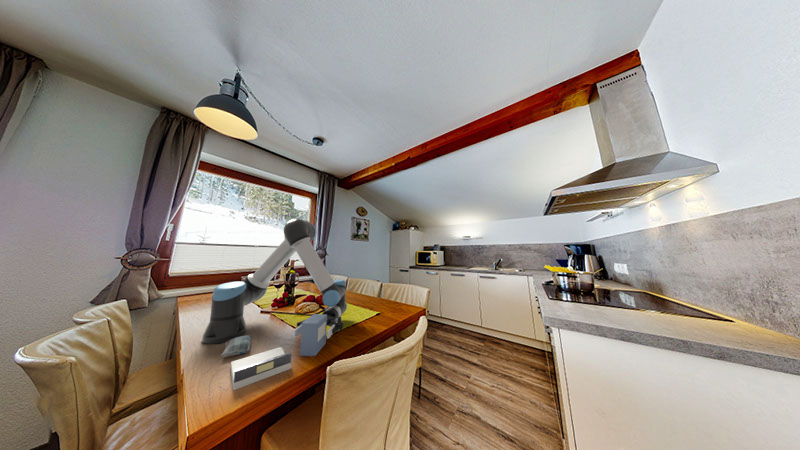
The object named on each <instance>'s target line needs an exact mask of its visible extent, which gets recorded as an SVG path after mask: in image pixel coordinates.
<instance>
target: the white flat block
mask: <svg viewBox="0 0 800 450" xmlns="http://www.w3.org/2000/svg"><path fill="white" fill-rule="evenodd" d="M291 364H292V352H291V351H289V352H286V353H285V351H284V349H283V347H281V346H279V347H276V348H272V349H269V350H266V351H262V352H260V353H256V354H252V355H250V356H246V357H244V358H239V359H237V360H232V361H231V362H230V372H231V374H230V376H231V382H232V383H231V384H232V391H235V390H238V389H241V388H243V387H246V386H248V385H252V384H255V383H256V382H260V381H262V380H265V379H267V378H271V377H273V376H276V375H277V374H280V373H283V372H285V371H288V370H291V367H292V365H291Z"/></svg>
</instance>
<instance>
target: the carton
mask: <svg viewBox="0 0 800 450" xmlns="http://www.w3.org/2000/svg"><path fill="white" fill-rule="evenodd" d="M306 319H307V320H306ZM306 319H304V320H305V321H304V322H302V326H301V333H300V345H299V346H300V347H299V356H300V357H303V356H304V357H316V356H317V354H319V352H320V351H321V350H322V349H323V347H324V346H325V345H326V343H327V342H326V341H327V327H328V326H327V314H320V313H314V314H311V315H310V316H309V317H308V318H306Z"/></svg>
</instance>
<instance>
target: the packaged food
mask: <svg viewBox="0 0 800 450" xmlns="http://www.w3.org/2000/svg"><path fill="white" fill-rule="evenodd" d="M252 336H253V335H242V336H240V337H236V338H234V339H231V340H229V341H227V342H224V345H225V349H224V350H223V352H222V353H221V354H219V357H220V358H222V357H224V358H226V357H232V356H237V355H243V354H246V353H248V352H249V351H250V350H251V341H252V338H253V337H252Z"/></svg>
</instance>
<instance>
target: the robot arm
mask: <svg viewBox="0 0 800 450" xmlns="http://www.w3.org/2000/svg"><path fill="white" fill-rule="evenodd" d="M283 234H284V236H283V238H284V240H283V241H282V242H281V243H280V244H279V245H278V247H276V249H275V250H274V251H272V253H271V254H270V255H269V256H268V257H267V258H266V260H264V261H263V263H261V265H260V266H259V267H258V268H257V269H256V271H255V272H254V273H250V274H248V275H247V276H246V277H245V278H244V280H242V281H238V280H237V281H229V282H225V283H221V284H219V285H217V286H215V287H214V289H213V291H212V295H211V307H210V318H209V322H208V324H207V327H206V328H205V331H204V332H203V334H202V340H201V341H202V342H201V343H203V344H206V345H213V344H221V343H222V344H223V343H226V342H228V341H229V340H231V339H234V338H236V337H240V336H245V334H246V333H247V328H248V327H247V324H246V321H245V318H244V309H245V306H248V305H250V304H252V303H255V302H257V301H258V300H260V299H262V298H263V297H264V296H265V294H266V293H267V291H268V290H267V289H268V288H269V286H270V282H271V280H272V279H273V278H274V277H275V276H276V275H277V273H278V272H279V271H280V270H281V269H282V268H283V267H284V266H285V264H286V263H287V262H288V261H289V260H290V259H291V258H292V256H293V255H294V254H295V253H296V254H297V255H298V257H299V258H300V260H301V261H302V264H303V265H304V266H305V269H306V270H307V272H308V273H309V275H310V277H311V278H312V280H313V281H314V283H315V284H316V285H315V286H316V287H317V289H318V290H319V292H320V293H321V295H322V304H324V306H326V307H327V309H326V310H323V312H322V314H327V327H330V328H329V329H327V330H326V339H330V337H332V336H333V334H336V332H338V331H343V326H344V323H343V321H342V315H344V313H345V312H346V311H347V308H348V304H347V301H346V290H347V289H346V287H347V285H346V284H347V283H346V280H345V279H335V280H333V278H332V276H331V274H330V273H329V271H328V269H327V268H326V266H325V264H324V263H323V260H322V259H321V257H320V256H319V255H318V253H317V251H316V249H315V246H314V245H313V244H312V243H311V242H312V240H314V239H315V238H316V236H317V229H316V226H315V225H314V224H313V223H311V222H310V221H308V220H304V219H301V218H291V219H290V220H288V221H287V222H286V223H285V225H284V227H283ZM307 319H308V318H306V319H303V320H301V321H299V322H296V328H294V329H293V332H292V333H293V336H292V338H296V337H297V336H298V335H301V326H302V322H304V321H305V320H307Z"/></svg>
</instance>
